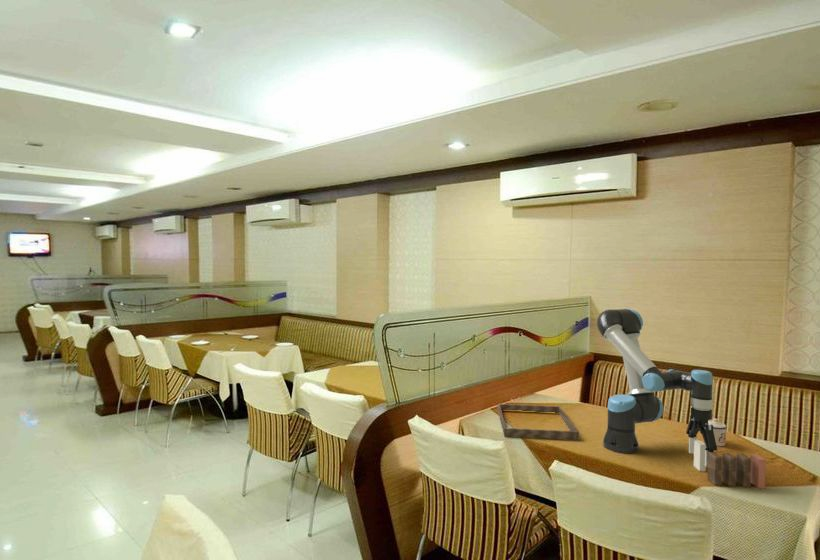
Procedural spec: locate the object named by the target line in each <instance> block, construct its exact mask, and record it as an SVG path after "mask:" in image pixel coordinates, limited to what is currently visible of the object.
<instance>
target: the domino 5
mask: <svg viewBox="0 0 820 560" xmlns="http://www.w3.org/2000/svg"><path fill="white" fill-rule="evenodd" d="M750 459H751V479H750V484H752V485H754V486H755V487H756V488H757V489H765V488H766V472H767V471H766V469H767V468H766V466H767V462H766V461H767V459H766V458H763V456H760V455H759V454H754V453H751V454H750Z"/></svg>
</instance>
